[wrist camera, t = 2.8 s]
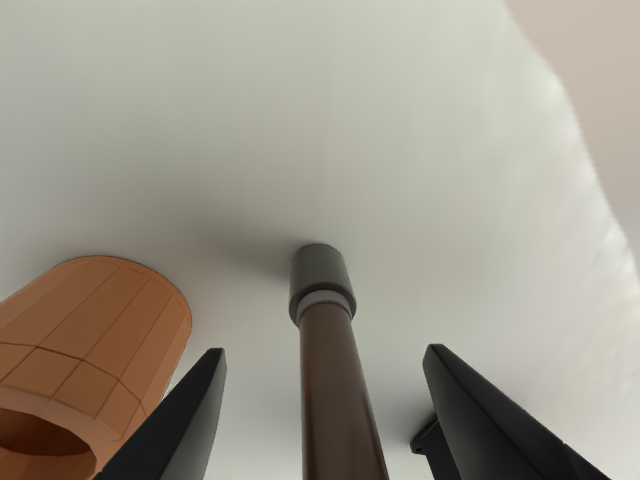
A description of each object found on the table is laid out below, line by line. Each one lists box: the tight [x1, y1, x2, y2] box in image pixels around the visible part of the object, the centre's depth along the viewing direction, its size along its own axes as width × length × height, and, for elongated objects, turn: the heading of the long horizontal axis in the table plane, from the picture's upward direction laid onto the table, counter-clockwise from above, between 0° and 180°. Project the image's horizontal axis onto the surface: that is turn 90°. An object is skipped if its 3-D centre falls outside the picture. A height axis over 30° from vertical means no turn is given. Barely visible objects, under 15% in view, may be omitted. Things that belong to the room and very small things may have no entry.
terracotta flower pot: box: [0, 256, 192, 480], centre depth 11 cm, size 7×7×6 cm
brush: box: [289, 244, 389, 480], centre depth 9 cm, size 3×3×10 cm
